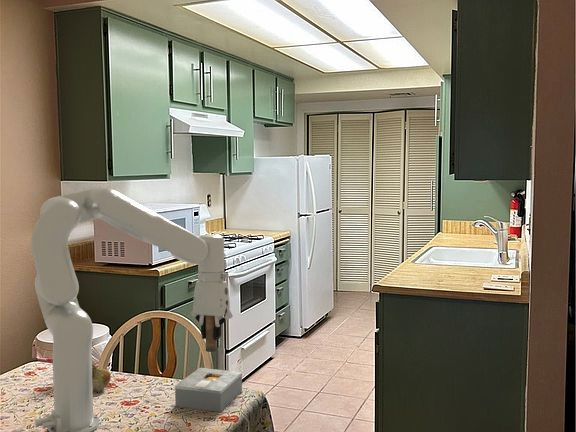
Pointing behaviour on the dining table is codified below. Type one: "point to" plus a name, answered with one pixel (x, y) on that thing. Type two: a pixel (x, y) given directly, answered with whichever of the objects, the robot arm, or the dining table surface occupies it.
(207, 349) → the brown rounded rod
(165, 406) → the dining table surface
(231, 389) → the box
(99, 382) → the onion
